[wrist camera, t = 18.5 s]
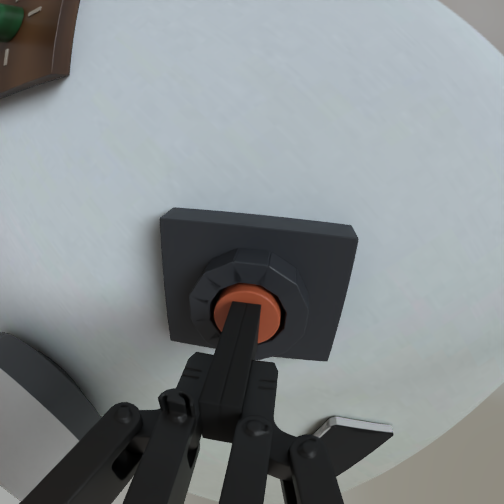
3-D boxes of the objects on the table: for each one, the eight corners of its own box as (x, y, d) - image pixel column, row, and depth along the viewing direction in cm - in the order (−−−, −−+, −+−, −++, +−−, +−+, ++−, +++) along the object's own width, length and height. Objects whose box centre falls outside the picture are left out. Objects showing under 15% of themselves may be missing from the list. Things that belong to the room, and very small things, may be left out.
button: (284, 278, 17) (283, 295, 15) (278, 329, 18) (276, 348, 16) (220, 271, 17) (213, 286, 15) (220, 321, 18) (213, 339, 17)
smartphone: (271, 475, 30) (331, 423, 24) (272, 468, 31) (330, 413, 25) (326, 483, 30) (397, 433, 24) (326, 476, 31) (395, 424, 25)
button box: (351, 225, 17) (366, 252, 14) (325, 341, 21) (329, 380, 17) (173, 207, 18) (145, 228, 15) (180, 322, 22) (161, 357, 18)
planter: (0, 287, 25) (-96, 377, 9) (131, 388, 27) (60, 527, 11) (9, 368, 33) (-47, 439, 17) (105, 439, 35) (62, 525, 19)
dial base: (94, -53, 10) (79, -62, 8) (69, 75, 15) (49, 74, 13) (3, -3, 11) (-11, -6, 9) (-14, 104, 16) (-30, 107, 14)
